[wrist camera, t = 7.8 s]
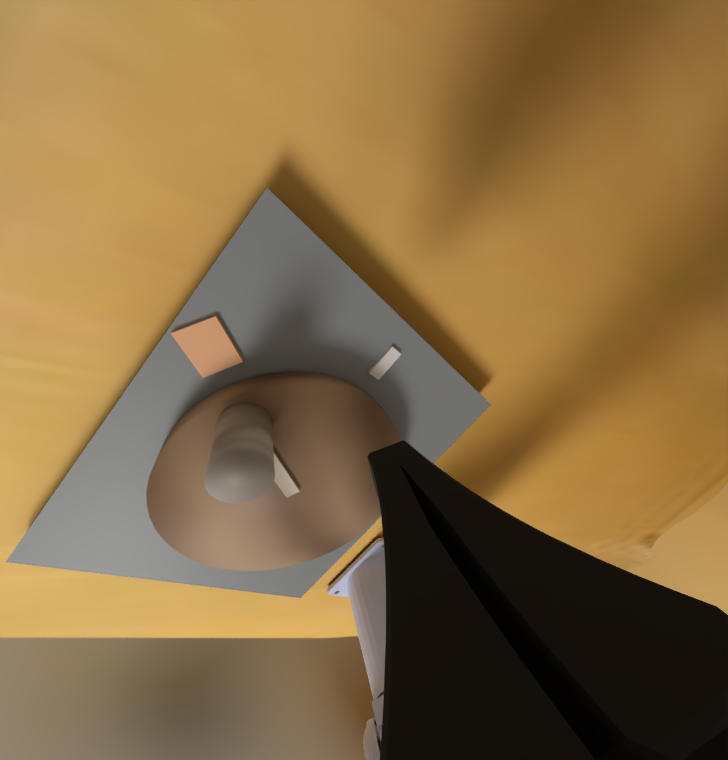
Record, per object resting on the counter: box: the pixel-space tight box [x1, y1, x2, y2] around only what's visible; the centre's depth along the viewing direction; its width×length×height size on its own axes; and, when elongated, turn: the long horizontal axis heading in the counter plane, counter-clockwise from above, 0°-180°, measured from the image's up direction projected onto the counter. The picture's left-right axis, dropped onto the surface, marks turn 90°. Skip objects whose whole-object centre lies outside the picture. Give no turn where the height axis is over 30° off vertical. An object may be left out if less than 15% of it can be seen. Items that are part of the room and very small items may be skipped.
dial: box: [146, 372, 401, 571], centre depth 16 cm, size 14×14×5 cm
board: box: [6, 188, 491, 598], centre depth 19 cm, size 19×23×2 cm
